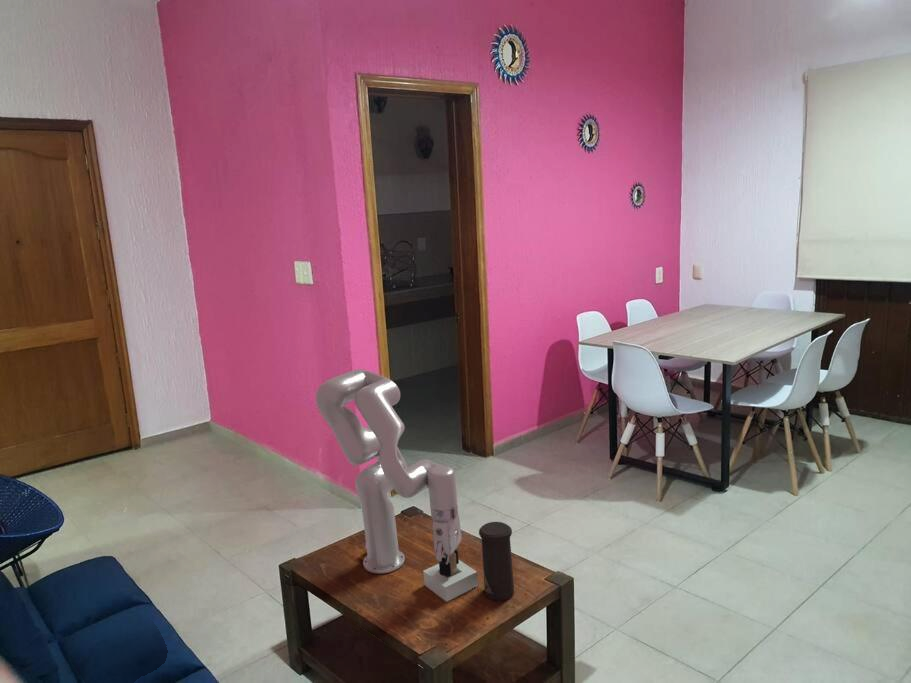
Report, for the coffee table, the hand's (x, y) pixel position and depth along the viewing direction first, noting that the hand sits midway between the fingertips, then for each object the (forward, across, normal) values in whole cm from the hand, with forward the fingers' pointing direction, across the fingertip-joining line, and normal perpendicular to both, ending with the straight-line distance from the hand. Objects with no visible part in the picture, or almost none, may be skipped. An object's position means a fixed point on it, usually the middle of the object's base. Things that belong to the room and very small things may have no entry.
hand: (449, 568), depth 193 cm
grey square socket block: (+5, 0, 0) cm, 5 cm away
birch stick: (+4, 0, 0) cm, 4 cm away
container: (+6, 0, -14) cm, 15 cm away
